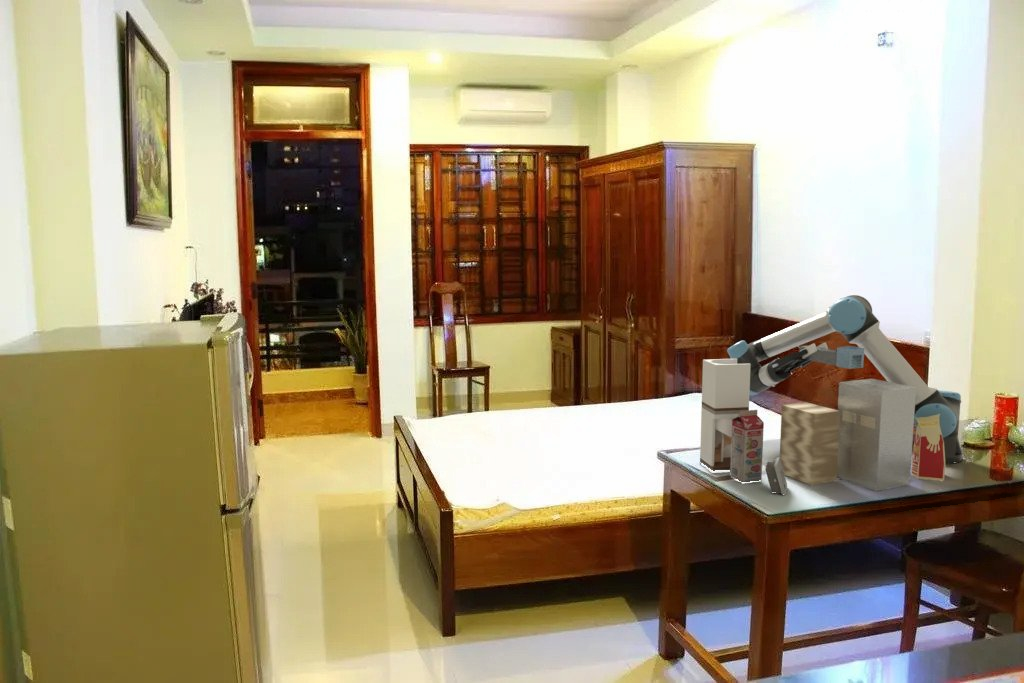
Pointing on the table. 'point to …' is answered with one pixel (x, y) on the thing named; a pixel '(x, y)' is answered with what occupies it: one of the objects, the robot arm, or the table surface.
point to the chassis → (875, 433)
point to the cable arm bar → (838, 356)
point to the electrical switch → (776, 476)
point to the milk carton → (928, 450)
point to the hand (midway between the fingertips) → (820, 346)
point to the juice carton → (747, 446)
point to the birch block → (809, 442)
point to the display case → (721, 408)
